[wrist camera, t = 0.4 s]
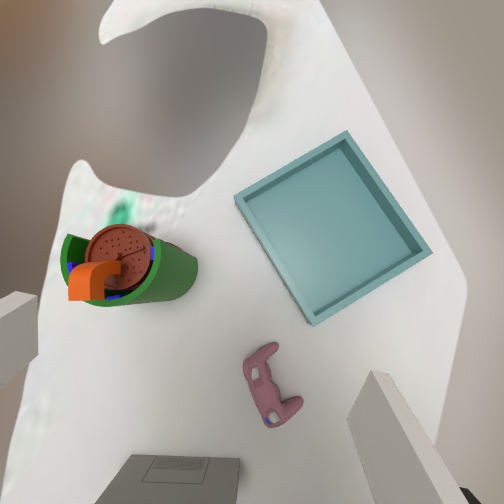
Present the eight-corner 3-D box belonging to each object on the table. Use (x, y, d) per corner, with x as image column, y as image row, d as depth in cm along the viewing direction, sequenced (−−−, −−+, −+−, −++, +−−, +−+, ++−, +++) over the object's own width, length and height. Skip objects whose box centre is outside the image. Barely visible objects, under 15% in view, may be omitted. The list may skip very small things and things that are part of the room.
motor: (193, 238, 42) (135, 196, 23) (202, 294, 41) (149, 301, 21) (131, 250, 42) (18, 218, 23) (138, 306, 41) (26, 324, 21)
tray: (418, 255, 41) (433, 253, 37) (308, 323, 40) (313, 326, 37) (339, 142, 44) (346, 129, 40) (235, 203, 43) (233, 195, 39)
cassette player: (130, 474, 38) (85, 540, 28) (132, 454, 39) (88, 512, 29) (238, 478, 38) (231, 547, 28) (239, 458, 38) (232, 518, 28)
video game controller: (253, 346, 41) (231, 366, 35) (278, 337, 40) (259, 358, 33) (280, 408, 40) (262, 440, 34) (307, 402, 38) (293, 436, 32)
